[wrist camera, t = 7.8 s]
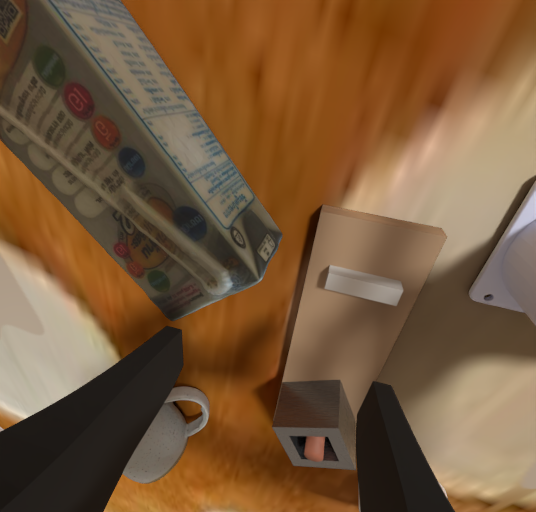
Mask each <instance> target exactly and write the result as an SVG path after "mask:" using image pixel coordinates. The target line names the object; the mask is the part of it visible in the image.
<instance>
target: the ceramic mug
mask: <svg viewBox="0 0 536 512" xmlns="http://www.w3.org/2000/svg"><path fill="white" fill-rule="evenodd" d="M178 400H190V401H193V402H196V403H199V404H200V405H201V406H202V408H201V410H202V412H203V414H202V415H201V416H200V417H199V418H198V419H196V420H194V421H193V422H191V423H188V424H187V423H186V421H185V418H184V416H183V415H182V413H181V412H180V411H179V410H178V408H177V407H176V406H175V405H174V403H173V401H178ZM208 418H209V401H208V399H207V397H206V396H205V394H204V393H203V392H201V391H200V390H198V389H196V388H193V387H186V386H181V387H175V388H173V389H172V391H171V392H170V394H169V396H168V397H167V399H166V401H165V402H164V404H163V406H162V407H161V409H160V410H159V412H158V414H157V415H156V417H155V419H154V420H153V422H152V423H151V425H150V427H149V428H148V430H147V432H146V433H145V435H144V436H143V438H142V440H141V441H140V443H139V444H138V446H137V448H136V449H135V451H134V453H133V455H132V456H131V458H130V460H129V462H128V463H127V465H126V467H125V469H124V471H123V473H122V474H124V475H125V476H126V477H128V478H129V479H131V480H133V481H136V482H139V483H152V482H155V481H157V480H159V479H161V478H162V477H164V476H165V475H166V474H167V473H169V472H170V471H171V469H172V468H173V467H174V466H175V465H176V464H177V463H178V461H179V460H180V458H181V456H182V454H183V453H184V450H185V448H186V445H187V442H188V436H191V435H193V434H195V433H197V432H199V431H200V430H201V429H202V428H203V427H204V426H205V425H206V423H207V421H208Z"/></svg>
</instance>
